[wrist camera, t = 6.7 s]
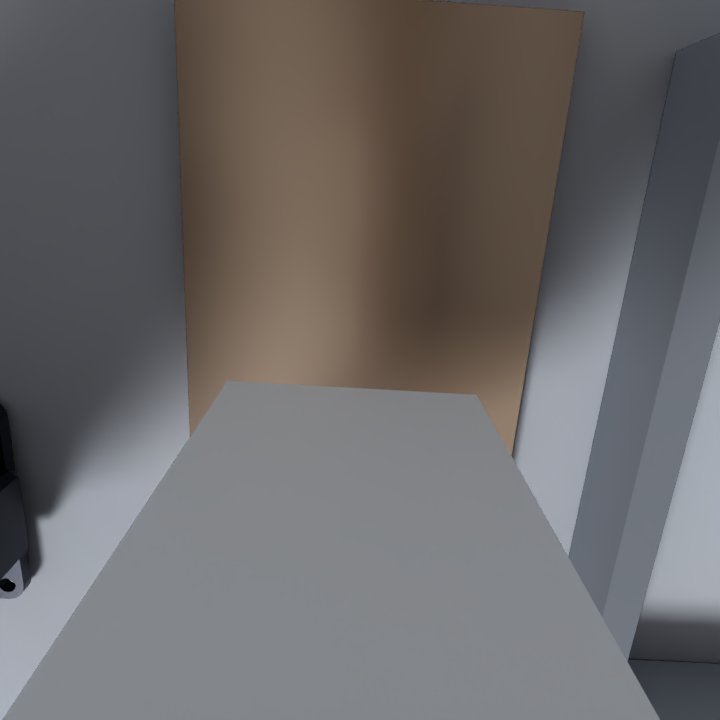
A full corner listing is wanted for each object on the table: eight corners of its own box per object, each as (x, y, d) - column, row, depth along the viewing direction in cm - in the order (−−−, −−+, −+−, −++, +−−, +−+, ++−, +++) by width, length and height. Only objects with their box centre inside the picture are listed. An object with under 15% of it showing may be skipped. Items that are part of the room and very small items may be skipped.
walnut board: (203, 672, 19) (199, 688, 18) (182, -9, 12) (173, -18, 12) (467, 685, 19) (471, 701, 18) (574, 19, 13) (584, 11, 12)
